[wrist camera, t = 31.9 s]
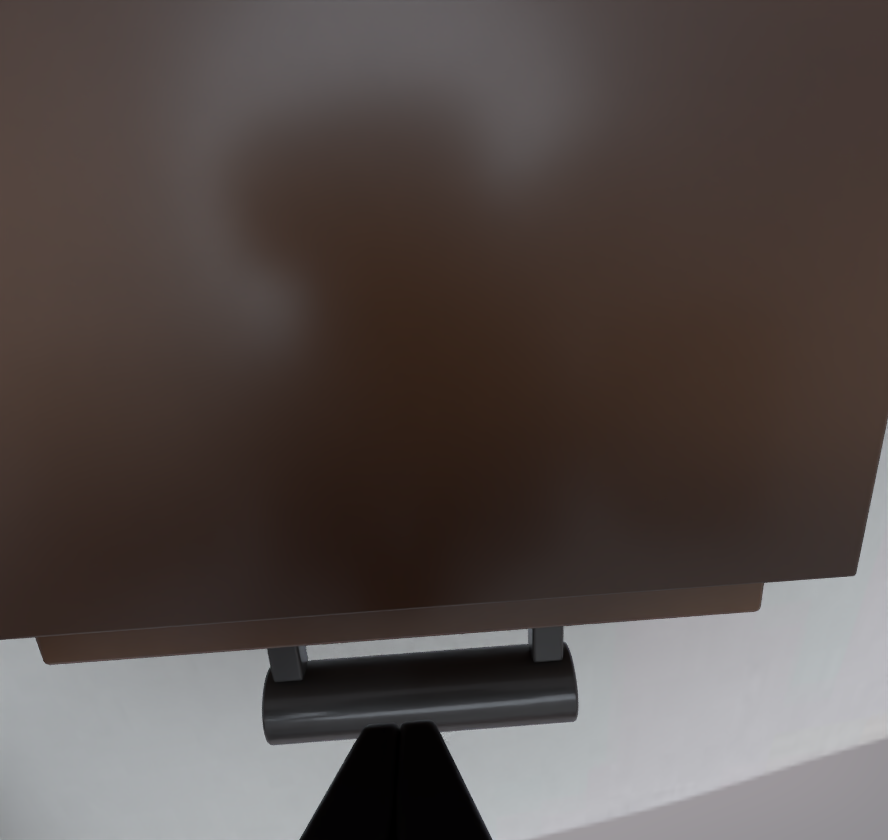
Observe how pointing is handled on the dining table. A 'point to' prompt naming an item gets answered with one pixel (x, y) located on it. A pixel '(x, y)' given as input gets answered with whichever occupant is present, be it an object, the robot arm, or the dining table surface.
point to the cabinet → (433, 302)
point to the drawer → (410, 660)
